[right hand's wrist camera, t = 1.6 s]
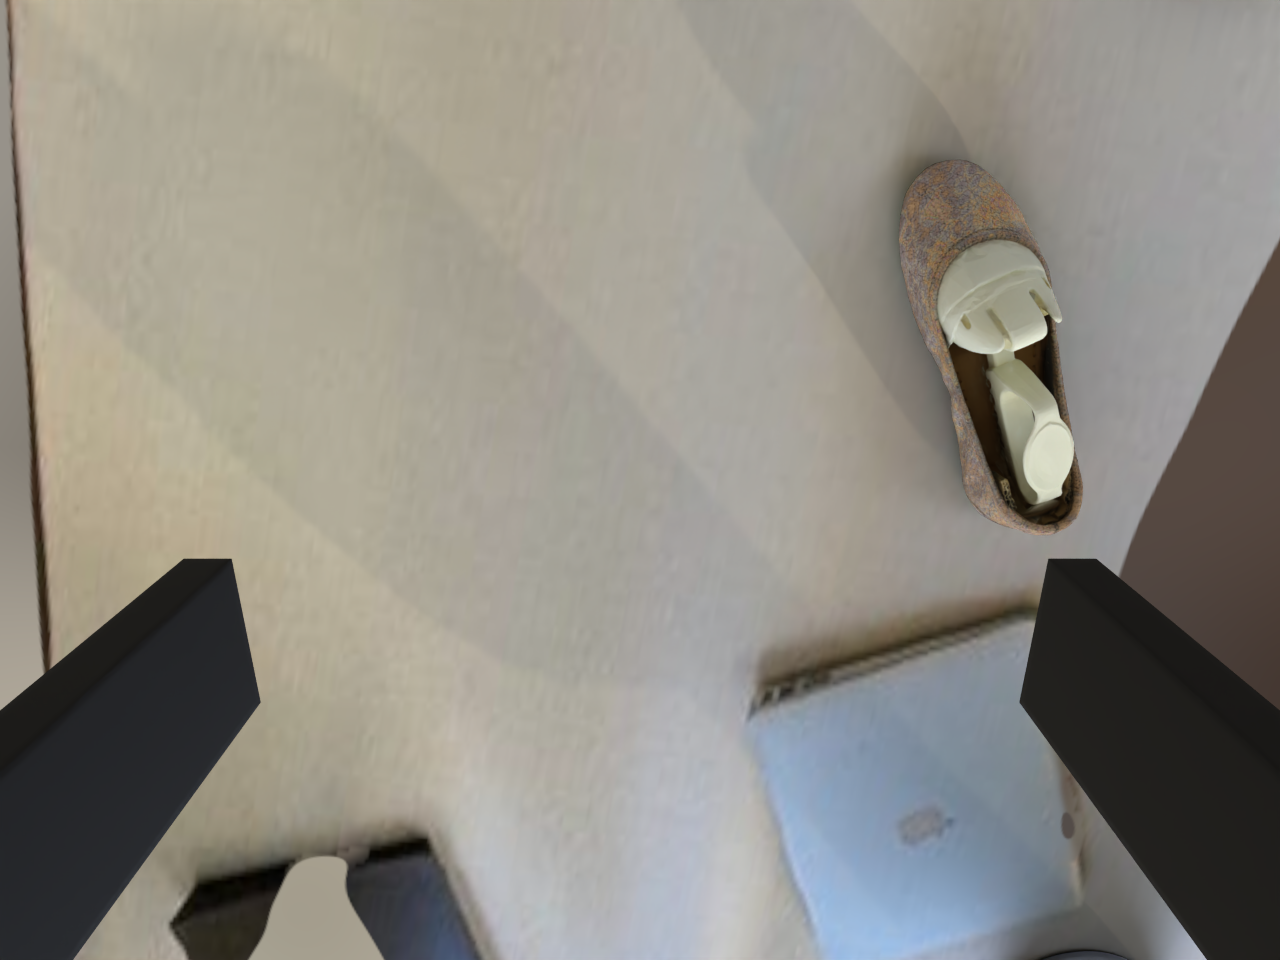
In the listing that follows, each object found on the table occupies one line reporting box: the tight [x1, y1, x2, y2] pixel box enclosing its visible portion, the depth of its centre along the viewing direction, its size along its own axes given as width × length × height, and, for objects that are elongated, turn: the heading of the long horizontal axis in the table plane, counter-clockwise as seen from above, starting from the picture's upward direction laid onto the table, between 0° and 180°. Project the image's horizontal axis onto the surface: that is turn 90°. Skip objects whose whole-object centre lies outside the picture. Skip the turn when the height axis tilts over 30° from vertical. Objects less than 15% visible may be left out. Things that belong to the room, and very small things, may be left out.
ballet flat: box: [899, 160, 1083, 535], centre depth 48 cm, size 8×25×8 cm, turn 24°
